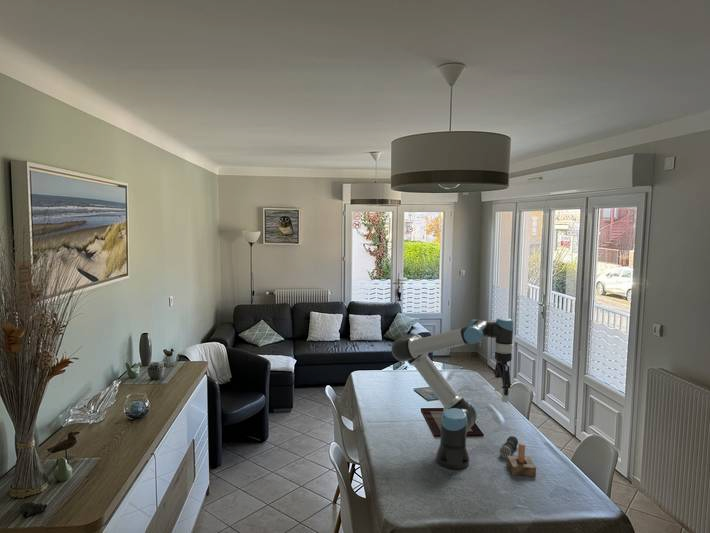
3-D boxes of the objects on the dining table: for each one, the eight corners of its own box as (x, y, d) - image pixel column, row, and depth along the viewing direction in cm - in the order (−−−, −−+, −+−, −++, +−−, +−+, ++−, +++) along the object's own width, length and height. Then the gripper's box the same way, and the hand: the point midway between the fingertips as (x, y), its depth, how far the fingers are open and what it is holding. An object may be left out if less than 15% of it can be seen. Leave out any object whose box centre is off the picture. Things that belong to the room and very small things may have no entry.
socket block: (512, 475, 210) (513, 466, 210) (506, 463, 220) (507, 455, 219) (535, 476, 209) (536, 467, 209) (528, 464, 219) (529, 456, 219)
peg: (518, 471, 213) (519, 445, 212) (516, 468, 216) (517, 442, 215) (524, 471, 213) (526, 445, 212) (522, 468, 216) (524, 443, 215)
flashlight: (507, 443, 241) (508, 433, 240) (518, 446, 238) (519, 436, 237) (499, 455, 228) (499, 445, 227) (510, 459, 225) (511, 448, 224)
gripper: (519, 359, 207) (516, 406, 209) (504, 345, 231) (502, 387, 233) (501, 359, 207) (499, 406, 209) (489, 344, 232) (487, 386, 234)
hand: (501, 396), depth 221 cm, fingers open, 13 cm apart
